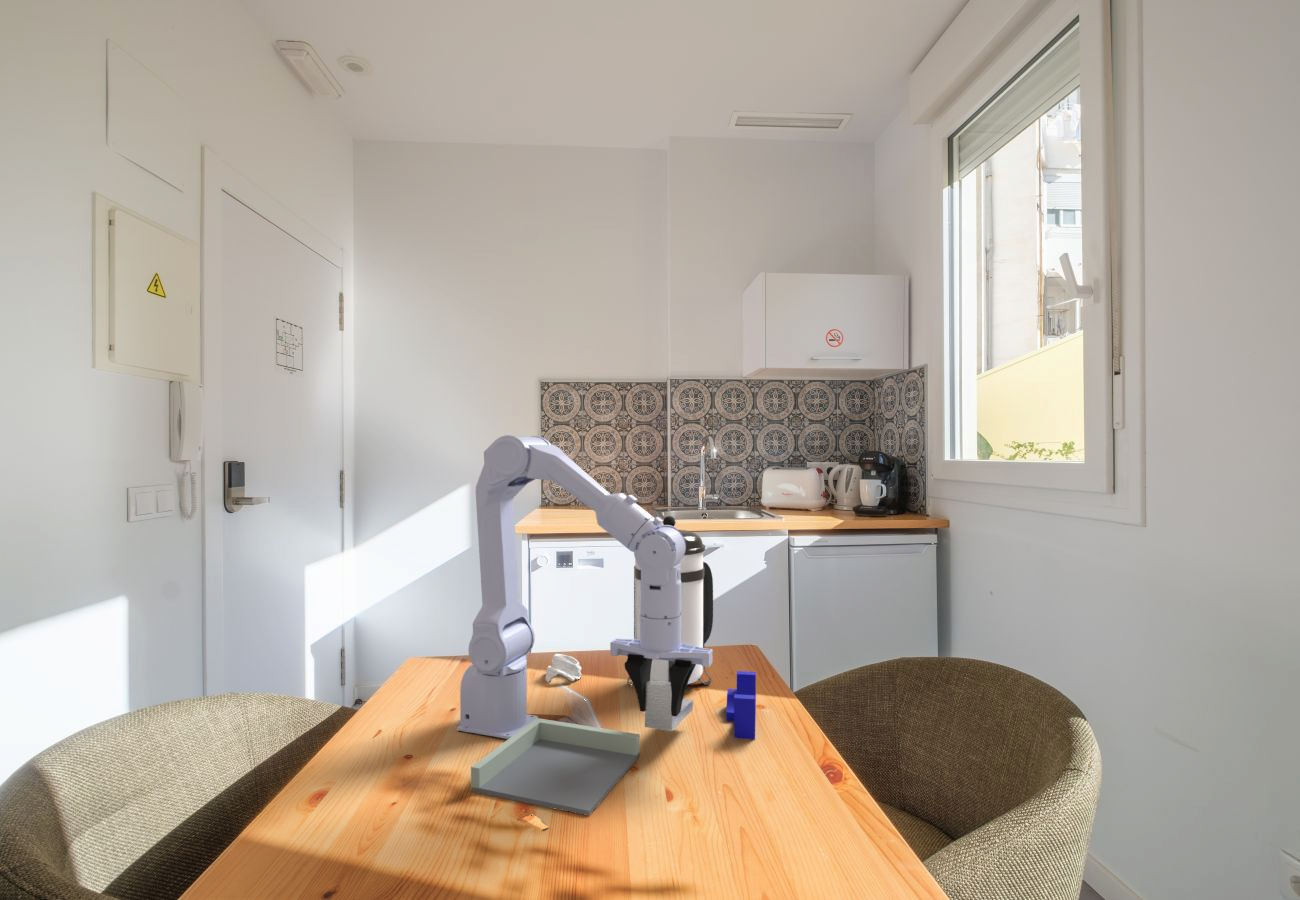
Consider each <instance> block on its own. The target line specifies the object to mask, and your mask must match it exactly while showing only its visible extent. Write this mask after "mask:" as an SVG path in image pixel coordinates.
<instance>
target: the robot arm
mask: <svg viewBox="0 0 1300 900" xmlns="http://www.w3.org/2000/svg"><path fill="white" fill-rule="evenodd" d="M483 460H484V461H483V462H484V463H483V466H482V470H481V471H480V474H479V477H478V480H477V483H476V485H475V504H476V507H475V508H476V522H477V538H478V553H479V568H480V573H479V574H480V587H481V602H482V606H481V608H480V609H479V611H478V613H477V614H476V617H475V618H474V620H473V621H472V635H471V638H470V641H469V644H468V655H469V659H470V662H471V665H469V666H468V667H467V669H466V670H465V671H464V673H463V675H462V678H461V680H460V681H461V682H460V690H459V696H460V697H459V699H460V700H459V701H460V702H459V703H460V706H459V707H460V715H459V717H460V719H459V720H460V721H459V722H460V724H459V725H458V726H457V727H456V729H457V731H460V732H466V733H470V734H471V733H473V734H477V735H482V736H483V735H484V736H489V737H494V738H500V739H506V740H508V739H509V738H510V737H512V736H513V735H515V734H516V733H517V732H519V731H520V730H521V729H523V728H524V727H525V726H527V725H528V724H529V723H531V722H532V721H533V720H535V719H536V718H539V717H538V715H532V714H528V712H527V710H528V709H527V708H528V707H527V706H528V703H527V702H528V699H527V698H528V697H527V696H528V693H527V691H528V690H527V688H528V683H527V682H528V678H527V677H528V674H527V669H528V668H527V667H528V664H527V661H528V654H529V653H530V652H531V651H532V649H533V647H534V645H535V640H536V639H535V638H536V636H535V631H534V628H533V626H532V624H531V622H530V620H529V614H528V609H527V608H526V606H525V605H524V604H523V603H522V602H521V601H520V595H519V593H520V592H519V579H518V577H519V576H518V564H517V563H518V562H517V561H518V560H517V546H516V531H515V530H516V529H515V514H514V513H515V512H514V498H515V497H516V496H517V495H518V494H519V493H520V492H521V491H522V490H523V488H524V487H526V485H528V484H529V483H531V482H533V481H535V480H542V481H543V480H545V481H552V482H554V483H555V484H556V485H558V486H559V487H561V488H562V489H563V490H565V491H566V492H568V493H569V494H570V495H572V496H573V497H575V498H576V499H577V500H579V501H580V502H582V503H583V504H584V505H585V506H587V507H588V508H590V509H591V510H593V512H594V513H595V516H596V517H595V518H596V522H597V525H598V526H599V527H600V528H601V529H603V530H604V531H605V532H606V533H608V535H610V536H611V537H612V538H614V539H615V540H616V541H618V542H619V543H620V544H621V545H623V546H624V547H625V548H626V549H627V550H629V551H630V552H632V553H633V554H634V559H636V562H637V564H638V565H639V566H640V568H641V601H640V639H634V638H629V639H628V638H626V639H625V638H615V639H613V640H611V642H610V645H609V647H610V651H609V653H610V656H613V657H618V656H624V657H625V656H627V658H626V661H625V662H624V669H625V671H626V673H627V675H628V677H629V676H630V681H631V684H633V685H634V687H633V688H634V690H635V694H636V697H637V700H638V705H639V711H640V712H644V713H645V696H646V683H647V682H648V681H650V674H651V664H652V659H658V660H666V661H674V662H675V664H673V665H672V666H671V667H670V668H669V674H670V680H671V691H672V698H671V715H672V716H677V715H678V714H679V713H680V712H681V705H682V700H683V699H684V696H685V693H686V689H687V686H688V685H687V683H688V681H689V678H690V676H691V674H692V672H693V670H694V668H695V666H696V664H699V665H702V666H703V667H705V668H710V667H711V665H712V664H713V659H714V658H713V654H714V653H713V649H712V648H705V647H704V648H701V647H697V646H693V645H689V644H684V643H681V564H680V563H679V564H677V563H678V562H679V561H680V560H681V559H682V558H683V556H684V554H685V550H686V543H685V540H684V538H683V536H682V534H681V533H680V532H679V531H678V530H679V529H677V527H675V525H674V526H671V525H663V520H664V519H662V518H661V517H659V516H656V517H654V516H653V515H651V514H650V513H649V512H647V511H646V510H645V509H644V508H643V507H641V506H640V505H639V504H637V501H638V498H637V497H635V496H634V495H633V494H628V495H626V494H625V493H623V492H617V493H611V492H609V491H607V490H606V489H605V488H604V487H603V486H602V485H600V484H599V483H598V482H597V481H596V480H595V479H594V478H593V477H592V476H590V474H589V473H588V472H586V471H584V470H583V469H582V468H581V467H580V466H579V465H578V464H577V463H575V462H574V461H573V460H572V459H571V458H570V457H568V455H567V454H565V452H563V451H562V449H561V448H560V447H558V446H557V445H555V444H551V442H550V441H549V440H548V439H546V438H545V437H543V436H539V435H533V436H515V435H511V434H508V435H507V434H506V435H502V436H500V437H498V438H496V440H494V441H493V442H492V443H491V444H490V445H489V446H488V447H487V448H486V449H485V450H484V451H483ZM676 564H677V565H676ZM674 565H676V566H674ZM672 566H674V567H672Z"/></svg>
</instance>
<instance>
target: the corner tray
mask: <svg viewBox="0 0 1300 900" xmlns="http://www.w3.org/2000/svg"><path fill="white" fill-rule="evenodd" d="M640 737H641V736H640V733H634V732H627V731H623V730H622V731H621V730H617V729H616V730H614V729H608V728H603V727H602V728H601V727H597V726H589V725H584V724H583V725H582V724H578V723H571V722H565V721H558V720H552V719H551V720H550V719H546V718H539V717H538V718H536V719H535V720H533V721H532V722H531V723H529V724H528V725H527V726H525V727H524V728H523V729H521V730H520V731H519V732H517V733H516V734H515V735H513V736H512V737H510V738H509V739H506V740H505V741H504V742H503V743H501V744H500V745H498V746H497V747H495V749H493V750H492V751H490V752H489V753H488V754H486V755H485V756H484V757H482V758H481V759H480V760H478V761H477V762H475V763H474V764H472V766H471V767H470V792H473V793H477V794H482V795H487V796H492V797H497V798H502V799H507V800H511V801H515V802H520V803H525V804H530V805H536V806H539V807H544V806H545V808H548V807H550V809H553V808H556V809H555V810H558V809H561V810H560V811H563V810H567V811H572V812H576V813H575V814H577V813H580V814H579V815H582V814H586V815H585V816H587V815H590V814H591V815H592V813H593V812H594V811H595V810H596V809H595V808H598V806H599V805H600V804H601V803H602V801H603V800H604V799H605V798H606V797H607V795H608V794H609V793H610V792H611V791H612V790H613V789H614V787H615V786H616V785H617V784H618V783H619V781H621V779H622V778H624V775H625V774H626V773H628V771H629V770H630V768H631V767H632V766H633V764H634V763H635V762H636V761H637V760H638V759H639V757H640V752H641V751H640V743H641V740H640V739H641V738H640ZM599 803H600V804H599ZM598 804H599V805H598ZM562 809H563V810H562ZM594 809H595V810H594ZM593 810H594V811H593ZM567 811H566V812H567ZM572 812H571V813H572ZM581 813H582V814H581ZM591 815H590V816H591Z"/></svg>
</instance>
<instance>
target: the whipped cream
mask: <svg viewBox="0 0 1300 900" xmlns="http://www.w3.org/2000/svg"><path fill="white" fill-rule="evenodd" d="M551 662H552V663H551V665H548V666H547V668H546V674H545V682H546V683H548V684H550V683H551V682H552V679H554V678H556V677H558V675H559V676H562V677H564V678H566V679H567V680H569V681H570V682H575V680H578V679H579V680H581V679H580V677H581V676H582V672H581V671H582V666H581V665H580V661H578V659H576V658H575V657H573V656H570V655H566V654H561V653H555V654H554V655H553V656H552V658H551Z"/></svg>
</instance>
